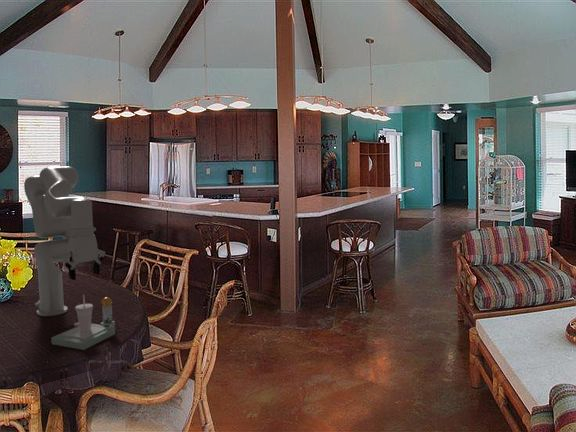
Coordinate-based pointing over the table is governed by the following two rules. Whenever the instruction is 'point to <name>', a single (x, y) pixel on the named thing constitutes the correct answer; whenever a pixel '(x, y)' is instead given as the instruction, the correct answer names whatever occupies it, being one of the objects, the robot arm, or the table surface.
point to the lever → (107, 312)
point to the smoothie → (84, 316)
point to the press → (83, 336)
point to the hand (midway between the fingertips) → (84, 276)
